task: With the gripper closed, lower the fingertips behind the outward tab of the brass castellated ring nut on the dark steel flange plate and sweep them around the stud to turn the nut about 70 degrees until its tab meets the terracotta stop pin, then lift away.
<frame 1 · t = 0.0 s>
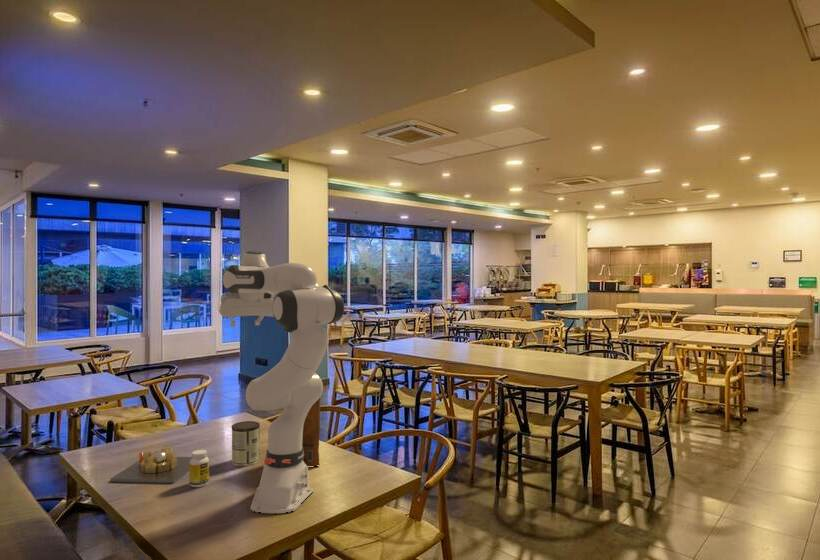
hand: (245, 325, 196), 52 cm above the table, tool tilted 20°, fingers open, 8 cm apart
coffee can: (245, 461, 195), on the table
pancake mix bag: (301, 464, 193), on the table
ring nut: (160, 458, 186), point 4 cm above the table, hinge at 0.0°
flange: (158, 470, 185), on the table
pill bottle: (199, 484, 173), on the table
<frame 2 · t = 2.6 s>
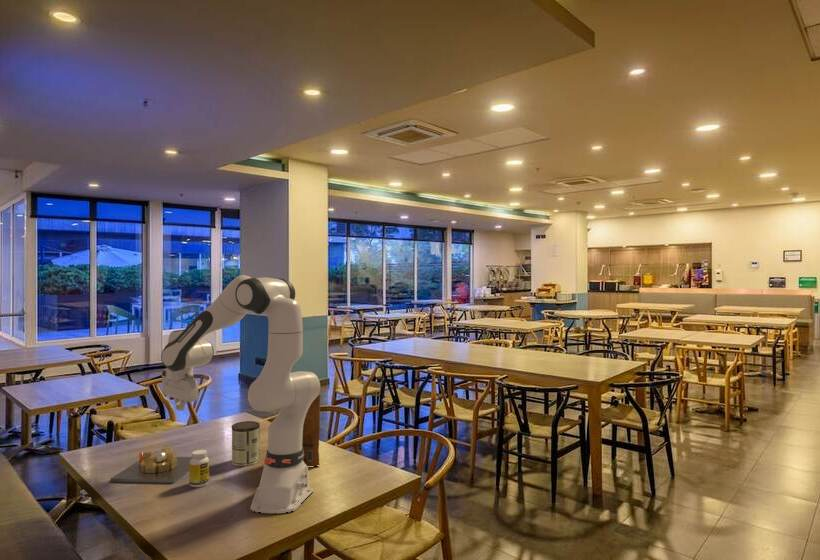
hand: (180, 409, 189), 21 cm above the table, tool pointing down, fingers closed
nothing on the table moved.
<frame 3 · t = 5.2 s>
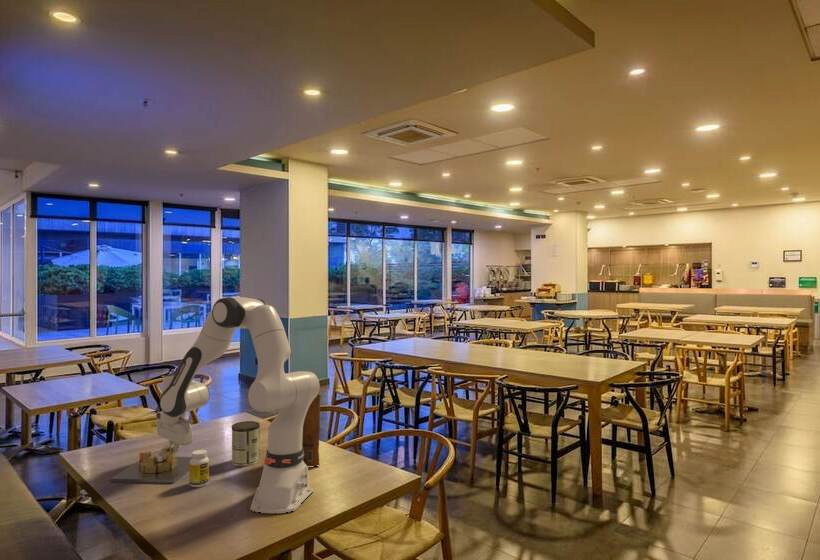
hand: (174, 452, 191), 5 cm above the table, tool pointing down, fingers closed
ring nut: (160, 458, 186), point 4 cm above the table, hinge at 0.0°, touching gripper
everything else where it was.
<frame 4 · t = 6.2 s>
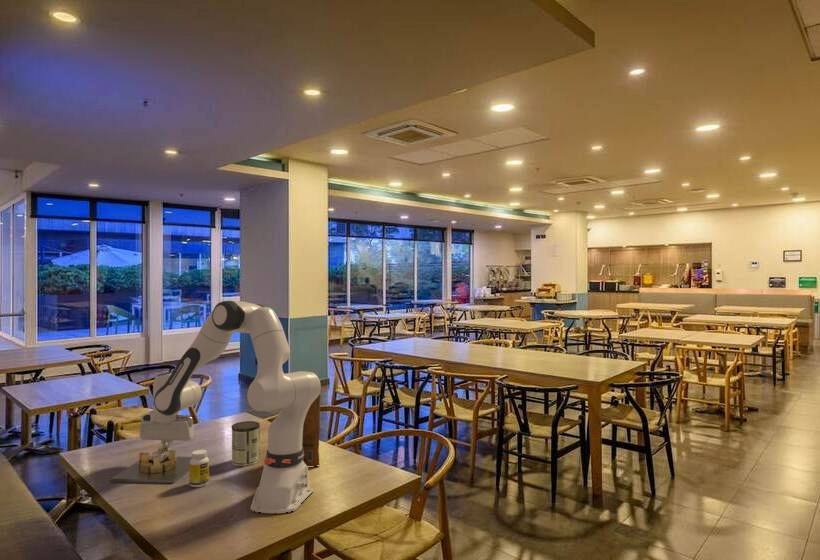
hand: (167, 451, 192), 5 cm above the table, tool pointing down, fingers closed, pressing on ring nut
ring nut: (159, 458, 186), point 4 cm above the table, hinge at 20.8°, touching gripper
everything else where it was.
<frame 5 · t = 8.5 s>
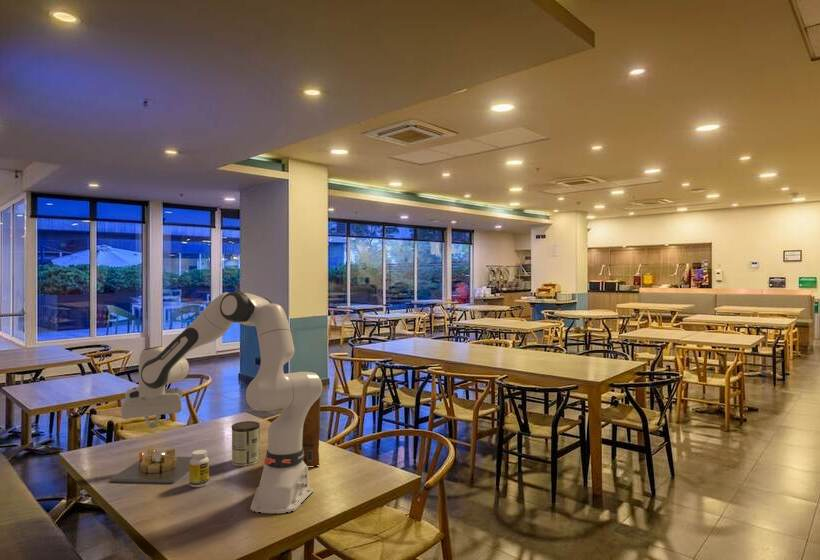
hand: (152, 427, 189), 14 cm above the table, tool pointing down, fingers closed
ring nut: (157, 459, 185), point 4 cm above the table, hinge at 56.8°
everything else where it was.
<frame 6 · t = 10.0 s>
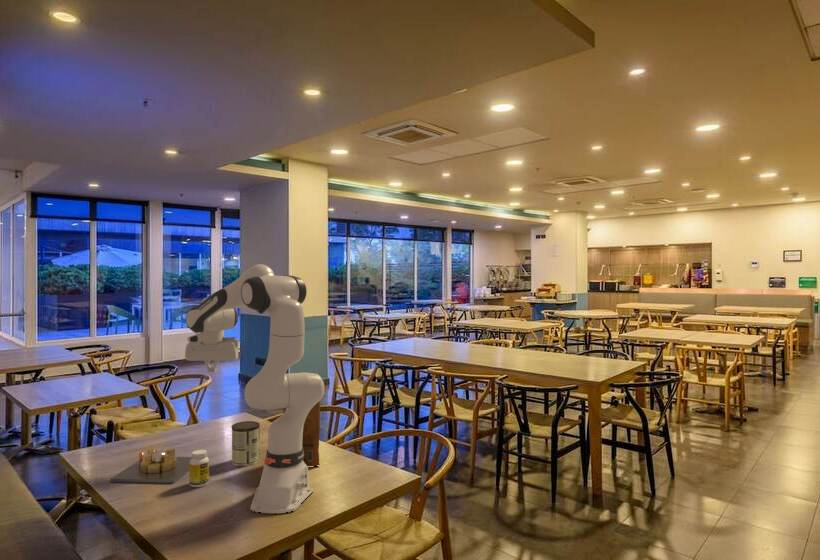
hand: (212, 371, 201), 33 cm above the table, tool pointing down, fingers closed
nothing on the table moved.
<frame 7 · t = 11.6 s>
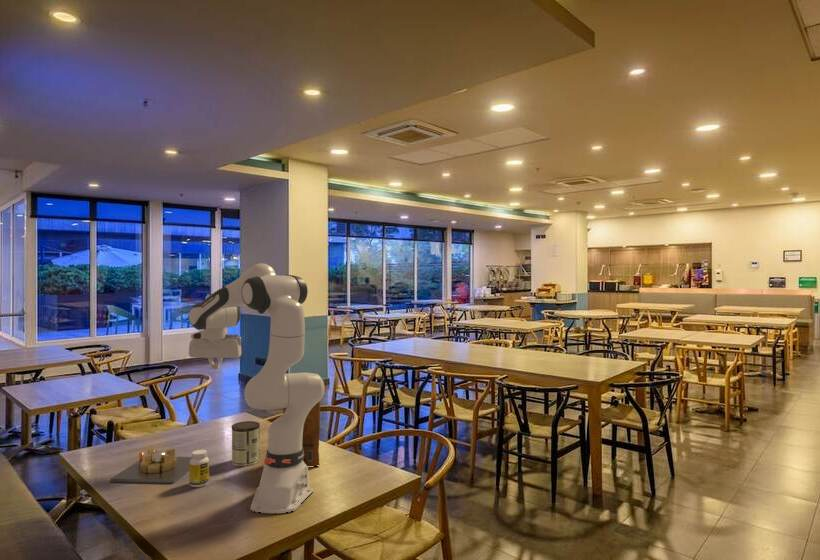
hand: (215, 368, 202), 34 cm above the table, tool pointing down, fingers closed
nothing on the table moved.
at the end: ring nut at +57° (first picture: +0°) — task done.
